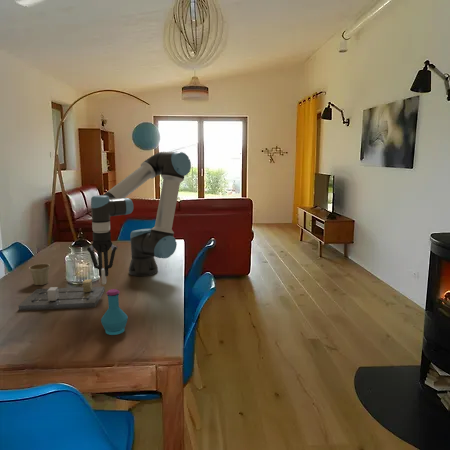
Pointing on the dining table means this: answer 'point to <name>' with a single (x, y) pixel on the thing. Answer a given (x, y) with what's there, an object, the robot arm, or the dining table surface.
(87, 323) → the dining table surface
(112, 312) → the perfume bottle
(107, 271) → the robot arm
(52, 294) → the grey fader
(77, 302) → the console
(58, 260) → the dining table surface
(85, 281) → the block
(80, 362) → the dining table surface
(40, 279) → the flower pot
